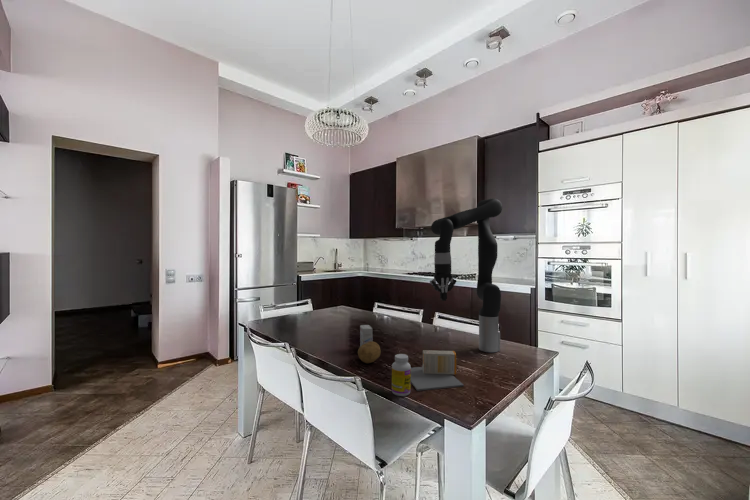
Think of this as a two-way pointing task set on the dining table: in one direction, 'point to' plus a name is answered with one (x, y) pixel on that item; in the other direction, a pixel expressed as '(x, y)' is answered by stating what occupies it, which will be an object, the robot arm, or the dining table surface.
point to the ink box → (365, 334)
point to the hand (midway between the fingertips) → (443, 300)
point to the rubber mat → (432, 380)
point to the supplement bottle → (401, 376)
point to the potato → (369, 352)
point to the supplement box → (439, 362)
